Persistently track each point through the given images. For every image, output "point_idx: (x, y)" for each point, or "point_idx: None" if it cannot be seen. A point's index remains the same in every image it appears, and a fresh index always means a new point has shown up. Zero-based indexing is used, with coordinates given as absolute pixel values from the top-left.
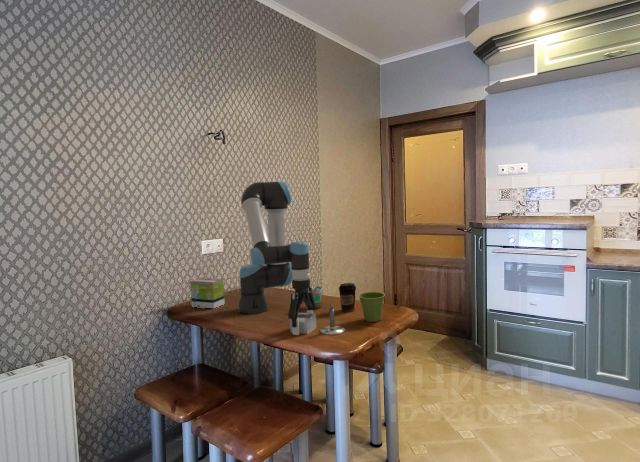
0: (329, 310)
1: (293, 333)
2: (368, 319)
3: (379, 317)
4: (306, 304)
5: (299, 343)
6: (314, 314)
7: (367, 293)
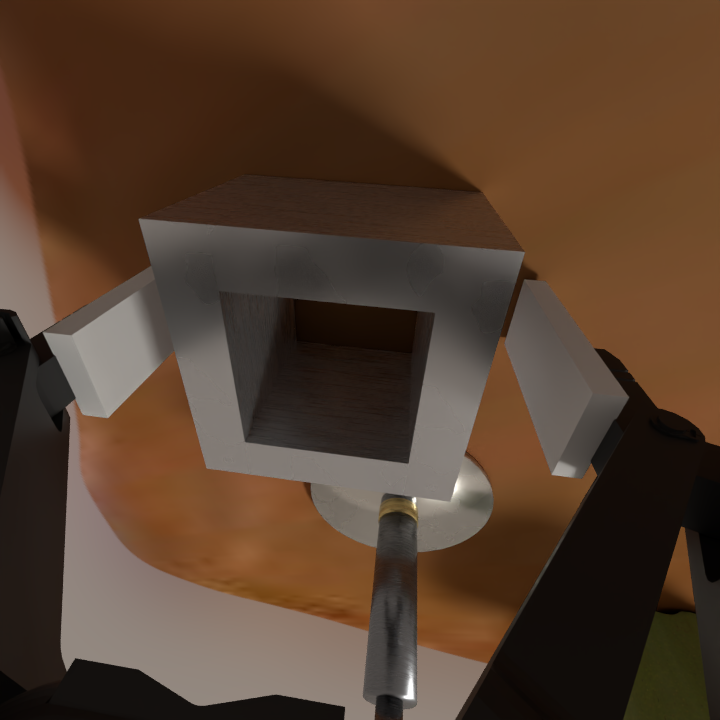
0: (370, 678)
1: None
2: None
3: None
4: (571, 524)
5: None
6: (431, 495)
7: None
